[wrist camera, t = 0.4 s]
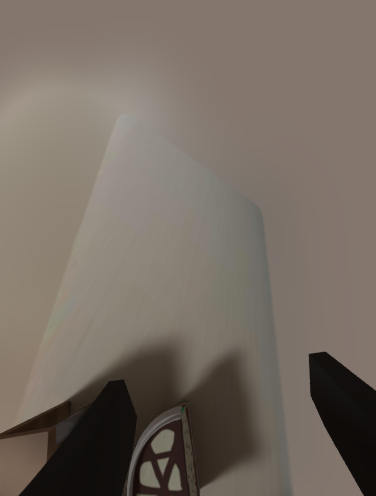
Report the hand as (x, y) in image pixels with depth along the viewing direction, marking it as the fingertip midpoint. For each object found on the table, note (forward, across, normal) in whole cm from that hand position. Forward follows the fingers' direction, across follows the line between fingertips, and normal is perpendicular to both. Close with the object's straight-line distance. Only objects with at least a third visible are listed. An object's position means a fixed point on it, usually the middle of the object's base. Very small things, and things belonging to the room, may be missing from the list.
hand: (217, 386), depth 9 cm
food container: (+14, +8, +25) cm, 30 cm away
